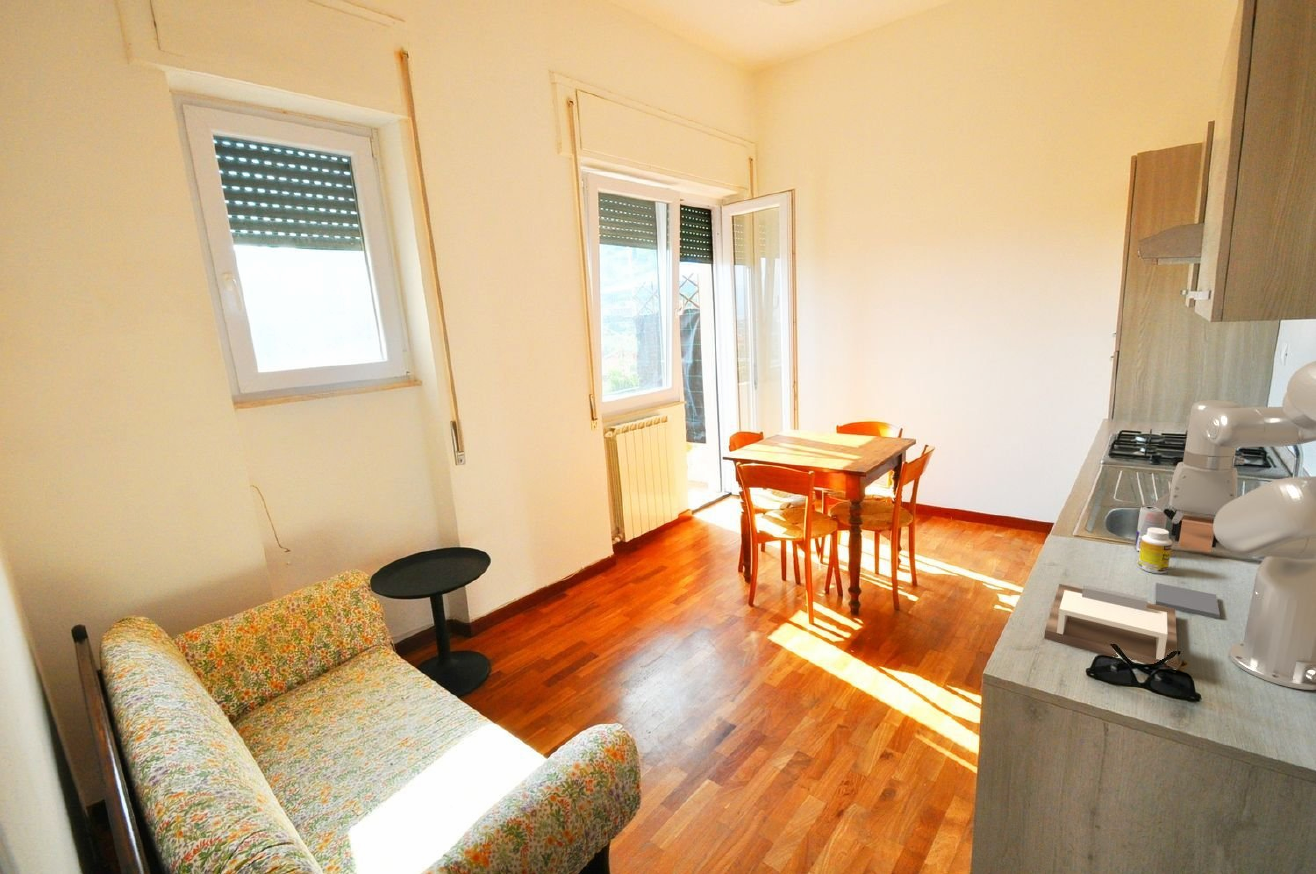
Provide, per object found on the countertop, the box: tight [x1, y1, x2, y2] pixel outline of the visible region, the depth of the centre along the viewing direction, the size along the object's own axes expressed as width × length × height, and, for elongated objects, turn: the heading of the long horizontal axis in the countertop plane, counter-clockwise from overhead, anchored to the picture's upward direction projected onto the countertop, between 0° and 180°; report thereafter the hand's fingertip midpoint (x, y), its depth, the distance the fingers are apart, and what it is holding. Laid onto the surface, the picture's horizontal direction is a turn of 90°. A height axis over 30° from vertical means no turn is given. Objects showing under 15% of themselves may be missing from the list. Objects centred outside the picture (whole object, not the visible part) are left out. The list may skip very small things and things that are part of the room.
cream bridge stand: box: [1057, 584, 1167, 660], centre depth 111 cm, size 9×16×7 cm, turn 50°
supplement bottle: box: [1137, 528, 1173, 574], centre depth 139 cm, size 6×6×10 cm
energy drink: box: [1134, 504, 1168, 553], centre depth 148 cm, size 5×5×12 cm
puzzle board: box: [1043, 583, 1179, 670], centre depth 118 cm, size 23×20×2 cm
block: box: [1177, 513, 1215, 553], centre depth 122 cm, size 5×5×6 cm
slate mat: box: [1155, 582, 1221, 620], centre depth 126 cm, size 10×10×1 cm
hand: (1194, 541), depth 123 cm, fingers closed on block, 5 cm apart
